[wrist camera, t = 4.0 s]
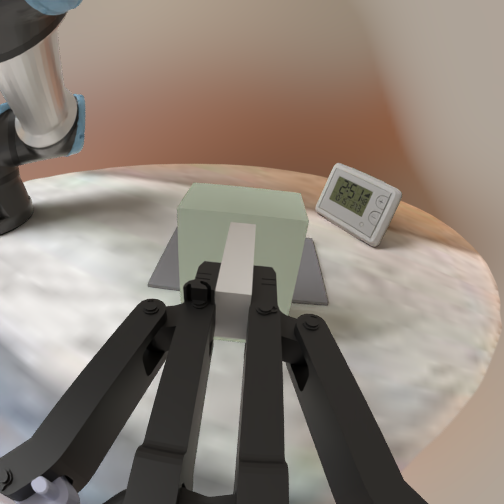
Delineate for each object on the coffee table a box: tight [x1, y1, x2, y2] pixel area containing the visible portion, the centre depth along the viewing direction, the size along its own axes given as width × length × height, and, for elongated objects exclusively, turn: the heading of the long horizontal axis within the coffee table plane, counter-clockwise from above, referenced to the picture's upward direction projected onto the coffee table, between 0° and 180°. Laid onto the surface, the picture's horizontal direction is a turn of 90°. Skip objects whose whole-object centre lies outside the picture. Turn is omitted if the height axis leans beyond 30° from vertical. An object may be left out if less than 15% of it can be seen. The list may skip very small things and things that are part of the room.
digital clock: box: [316, 163, 402, 247], centre depth 53 cm, size 16×9×11 cm, turn 22°
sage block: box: [177, 183, 309, 343], centre depth 29 cm, size 6×10×14 cm, turn 88°
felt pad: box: [148, 226, 328, 305], centre depth 43 cm, size 16×22×1 cm
